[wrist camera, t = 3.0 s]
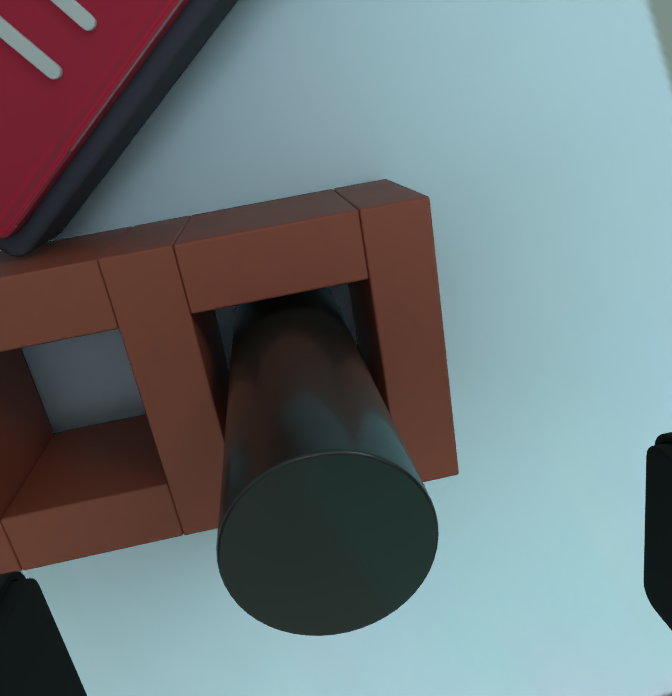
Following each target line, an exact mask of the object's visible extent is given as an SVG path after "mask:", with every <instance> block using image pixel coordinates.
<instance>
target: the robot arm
mask: <svg viewBox="0 0 672 696" xmlns="http://www.w3.org/2000/svg"><path fill="white" fill-rule="evenodd" d="M644 588H645V592H646V594H647V597H648V599H649V601H650V603H651V605H652V606H653V608H654V609H655V610H656V612H657V613H658V614H659V615H660V617H661V618H662V619H663V620H664V622H665V623H666V624H667V625H668V626H669V628H670V629H671V630H672V432H670V433H665V434H661V435H660V436H658V437H657V439H656V441H655V446H651V447H650V448H649V449H648V451H647V456H646V502H645V547H644ZM0 696H87V694H86V692H85V690H84V687H83V685H82V683H81V681H80V678H79V676H78V674H77V671H76V669H75V667H74V664H73V662H72V660H71V657H70V655H69V653H68V651H67V648H66V646H65V644H64V641H63V639H62V637H61V634H60V632H59V630H58V628H57V625H56V623H55V621H54V618H53V616H52V614H51V611H50V609H49V607H48V605H47V602H46V600H45V598H44V595H43V593H42V591H41V588H40V586H39V584H38V583H37V581H36V580H35V579H32V578H29V579H26V578H25V576H24V575H23V574H22V573H21V572H18V571H13V572H8V573H3V574H0Z"/></svg>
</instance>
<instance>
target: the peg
mask: <svg viewBox="0 0 672 696" xmlns="http://www.w3.org/2000/svg"><path fill="white" fill-rule="evenodd" d="M437 544H438V521H437V516H436V511H435V509H434V506H433V503H432V501H431V499H430V496H429V494H428V492H427V490H426V488H425V486H424V484H423V482H422V480H421V478H420V476H419V474H418V472H417V470H416V467H415V465H414V463H413V461H412V459H411V457H410V455H409V453H408V451H407V449H406V447H405V445H404V443H403V441H402V438H401V436H400V434H399V432H398V430H397V428H396V426H395V424H394V422H393V420H392V418H391V416H390V414H389V412H388V409H387V407H386V405H385V403H384V401H383V399H382V397H381V395H380V393H379V391H378V389H377V387H376V385H375V383H374V380H373V378H372V376H371V374H370V372H369V370H368V368H367V366H366V364H365V362H364V360H363V358H362V356H361V354H360V351H359V349H358V347H357V345H356V343H355V341H354V339H353V337H352V335H351V333H350V331H349V329H348V327H347V325H346V323H345V320H344V318H343V316H342V314H341V312H340V310H339V308H338V306H337V304H336V302H335V300H334V298H333V296H332V294H331V293H330V292H329V290H328V289H327V288H321V289H316V290H311V291H306V292H301V293H295V294H290V295H285V296H280V297H275V298H270V299H265V300H260V301H255V302H250V303H245V304H240V305H237V306H236V309H235V313H234V324H233V337H232V350H231V363H230V376H229V389H228V402H227V415H226V428H225V442H224V455H223V468H222V481H221V494H220V507H219V520H218V533H217V546H216V551H217V563H218V568H219V573H220V575H221V578H222V580H223V583H224V585H225V587H226V588H227V590H228V592H229V593H230V595H231V596H232V598H233V599H234V600H235V601H236V603H237V604H238V605H239V606H240V607H241V608H242V609H243V610H244V611H246V612H247V613H248V614H249V615H251V616H252V617H254V618H255V619H256V620H258V621H260V622H262V623H264V624H266V625H268V626H270V627H273V628H275V629H278V630H281V631H285V632H289V633H293V634H300V635H312V636H323V635H335V634H340V633H346V632H350V631H353V630H357V629H360V628H363V627H365V626H368V625H370V624H373V623H375V622H377V621H379V620H381V619H382V618H384V617H386V616H388V615H389V614H391V613H392V612H394V611H395V610H397V609H398V608H399V607H400V606H401V605H403V604H404V603H405V602H406V601H407V600H408V599H409V598H410V597H411V596H412V595H413V594H414V593H415V592H416V591H417V589H418V588H419V587H420V585H421V584H422V583H423V581H424V579H425V578H426V576H427V574H428V572H429V571H430V568H431V566H432V563H433V561H434V558H435V554H436V550H437Z"/></svg>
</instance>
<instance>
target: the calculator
mask: <svg viewBox="0 0 672 696" xmlns="http://www.w3.org/2000/svg"><path fill="white" fill-rule="evenodd" d="M236 2H237V0H0V250H2V251H3V252H5V253H7V254H9V255H11V256H15V257H21V256H25V255H27V254H29V253H30V252H32V251H34V250H35V249H37V248H38V247H40V246H41V245H43V244H44V243H46V242H48V241H49V240H51V239H52V238H54V237H55V236H57V235H58V234H59V233H61V232H62V230H63V229H64V228H65V227H66V226H67V224H68V223H69V222H70V220H71V219H72V218H73V217H74V215H75V214H76V213H77V211H78V210H79V209H80V207H81V206H82V205H83V203H84V202H85V201H86V199H87V198H88V197H89V195H90V194H91V193H92V191H93V190H94V189H95V188H96V186H97V185H98V184H99V182H100V181H101V180H102V178H103V177H104V176H105V174H106V173H107V172H108V170H109V169H110V168H111V166H112V165H113V164H114V162H115V161H116V160H117V159H118V157H119V156H120V155H121V153H122V152H123V151H124V149H125V148H126V147H127V145H128V144H129V143H130V141H131V140H132V139H133V137H134V136H135V135H136V134H137V132H138V131H139V130H140V128H141V127H142V126H143V124H144V123H145V122H146V120H147V119H148V118H149V116H150V115H151V114H152V112H153V111H154V110H155V108H156V107H157V106H158V105H159V103H160V102H161V101H162V99H163V98H164V97H165V95H166V94H167V93H168V91H169V90H170V89H171V87H172V86H173V85H174V83H175V82H176V81H177V80H178V78H179V77H180V76H181V74H182V73H183V72H184V70H185V69H186V68H187V66H188V65H189V64H190V62H191V61H192V60H193V58H194V57H195V56H196V54H197V53H198V52H199V51H200V49H201V48H202V47H203V45H204V44H205V43H206V41H207V40H208V39H209V37H210V36H211V35H212V33H213V32H214V31H215V29H216V28H217V27H218V26H219V24H220V23H221V22H222V20H223V19H224V18H225V16H226V15H227V14H228V12H229V11H230V10H231V8H232V7H233V6H234V4H235V3H236Z"/></svg>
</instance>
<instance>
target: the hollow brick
mask: <svg viewBox="0 0 672 696" xmlns="http://www.w3.org/2000/svg"><path fill="white" fill-rule="evenodd" d="M346 283H348V284H349V290H350V296H351V302H352V309H353V315H354V321H355V327H356V333H357V339H358V345H359V351H360V354H361V356H362V358H363V360H364V362H365V364H366V366H367V368H368V370H369V372H370V374H371V376H372V378H373V380H374V383H375V385H376V387H377V389H378V391H379V393H380V395H381V397H382V399H383V401H384V403H385V405H386V407H387V409H388V412H389V414H390V416H391V418H392V420H393V422H394V424H395V426H396V428H397V430H398V432H399V434H400V436H401V438H402V441H403V443H404V445H405V447H406V449H407V451H408V453H409V455H410V457H411V459H412V461H413V463H414V465H415V467H416V470H417V472H418V474H419V476H420V478H421V480H422V482H426V481H431V480H435V479H440V478H444V477H449V476H453V475H457V474H458V472H459V471H458V462H457V453H456V443H455V434H454V425H453V415H452V406H451V396H450V387H449V378H448V368H447V359H446V350H445V340H444V331H443V321H442V312H441V303H440V293H439V284H438V275H437V265H436V256H435V246H434V237H433V228H432V218H431V209H430V200H429V197H428V196H426V195H423V194H421V193H418V192H416V191H414V190H411V189H409V188H406V187H404V186H401V185H399V184H397V183H394V182H392V181H389V180H387V179H384V180H378V181H373V182H368V183H362V184H357V185H352V186H346V187H341V188H335V189H334V191H333V190H331V189H330V190H325V191H320V192H314V193H309V194H303V195H298V196H293V197H287V198H282V199H277V200H271V201H266V202H261V203H255V204H250V205H245V206H239V207H234V208H229V209H223V210H218V211H213V212H207V213H202V214H196V215H192V216H191V217H190V216H185V217H180V218H174V219H169V220H164V221H158V222H153V223H148V224H142V225H137V226H134V227H127V228H121V229H116V230H111V231H105V232H100V233H95V234H89V235H84V236H79V237H73V238H68V239H63V240H57V241H52V242H46V243H44V244H43V245H41V246H40V247H38V248H37V249H35V250H34V251H32V252H30V253H29V254H27V255H25V256H21V257H15V256H11V255H9V254H7V253H5V252H3V251H0V574H3V573H8V572H13V571H18V572H20V571H21V570H22V569H23V570H28V569H33V568H37V567H42V566H46V565H51V564H55V563H60V562H64V561H69V560H73V559H78V558H82V557H87V556H91V555H96V554H101V553H105V552H110V551H114V550H119V549H123V548H128V547H132V546H137V545H141V544H146V543H150V542H155V541H159V540H164V539H168V538H173V537H177V536H181V535H183V534H184V535H188V534H193V533H197V532H202V531H206V530H211V529H215V528H218V520H219V507H220V494H221V481H222V468H223V455H224V442H225V428H226V415H227V402H228V389H229V376H230V371H229V367H228V363H227V359H226V355H225V351H224V347H223V343H222V339H221V335H220V331H219V327H218V323H217V319H216V315H215V311H214V310H215V309H220V308H225V307H230V306H235V305H240V304H245V303H250V302H255V301H260V300H265V299H270V298H275V297H280V296H285V295H290V294H295V293H301V292H306V291H311V290H316V289H321V288H326V287H331V286H336V285H341V284H346ZM117 328H119V329H120V332H121V335H122V339H123V342H124V345H125V348H126V351H127V355H128V358H129V361H130V364H131V367H132V370H133V374H134V377H135V380H136V383H137V386H138V389H139V393H140V396H141V399H142V402H143V405H144V409H145V412H146V415H142V416H137V417H132V418H127V419H122V420H118V421H113V422H108V423H103V424H98V425H93V426H89V427H84V428H79V429H74V430H69V431H65V432H60V433H55V434H54V435H53V432H52V429H51V427H50V424H49V422H48V419H47V416H46V414H45V411H44V408H43V406H42V403H41V401H40V398H39V395H38V393H37V390H36V388H35V385H34V382H33V380H32V377H31V375H30V372H29V369H28V367H27V364H26V362H25V359H24V356H23V354H22V351H21V349H20V348H23V347H28V346H33V345H38V344H43V343H48V342H53V341H58V340H63V339H68V338H73V337H78V336H83V335H89V334H94V333H99V332H104V331H109V330H114V329H117Z"/></svg>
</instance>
